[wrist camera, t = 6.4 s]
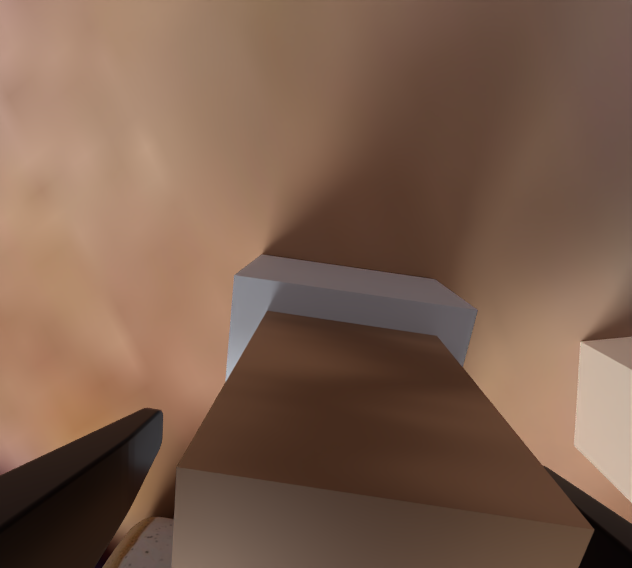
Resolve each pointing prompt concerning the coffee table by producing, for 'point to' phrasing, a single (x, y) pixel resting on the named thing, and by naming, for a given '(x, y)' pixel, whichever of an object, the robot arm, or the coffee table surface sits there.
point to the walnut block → (363, 462)
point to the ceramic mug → (145, 545)
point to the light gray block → (346, 301)
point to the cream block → (606, 409)
